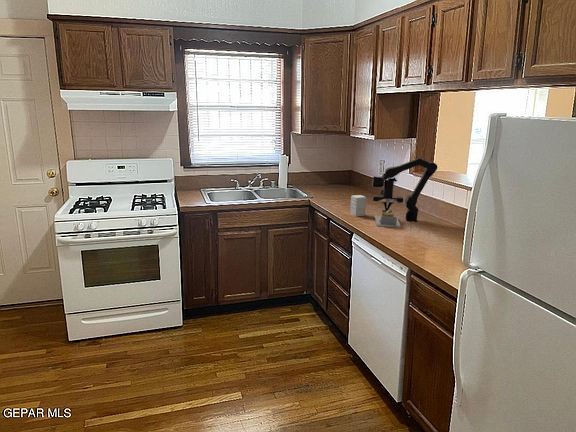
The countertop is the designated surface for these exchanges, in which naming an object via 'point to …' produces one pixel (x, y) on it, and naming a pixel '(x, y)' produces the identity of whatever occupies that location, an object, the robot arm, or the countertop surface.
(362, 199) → the supplement box
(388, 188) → the robot arm
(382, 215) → the press ram
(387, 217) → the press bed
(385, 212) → the housing
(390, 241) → the countertop surface
